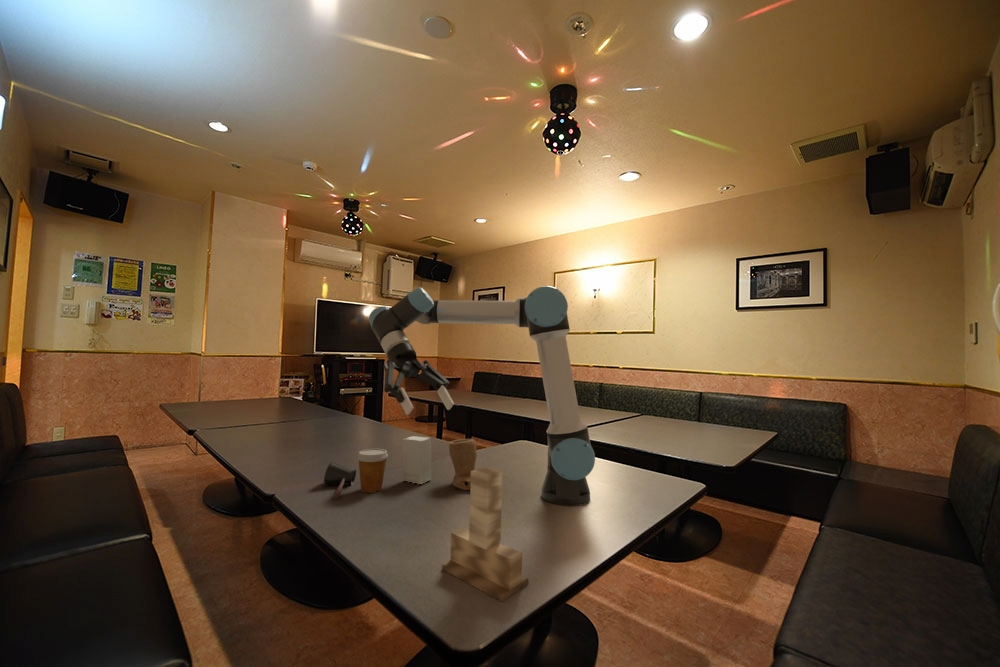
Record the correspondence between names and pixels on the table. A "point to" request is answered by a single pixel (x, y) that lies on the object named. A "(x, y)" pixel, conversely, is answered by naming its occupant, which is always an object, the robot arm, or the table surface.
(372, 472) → the disposable coffee cup
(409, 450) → the skincare box
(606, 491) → the table surface
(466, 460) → the tan upright curved piece
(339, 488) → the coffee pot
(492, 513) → the block
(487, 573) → the ridge
